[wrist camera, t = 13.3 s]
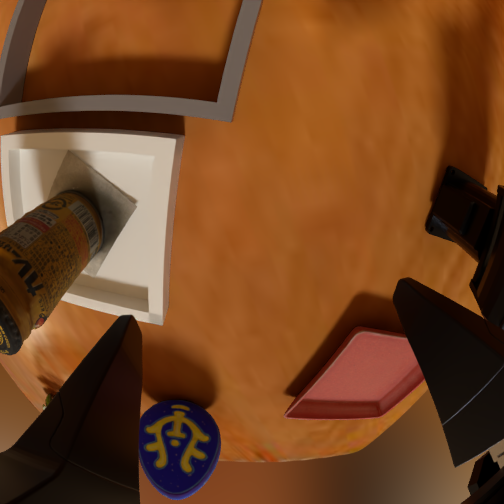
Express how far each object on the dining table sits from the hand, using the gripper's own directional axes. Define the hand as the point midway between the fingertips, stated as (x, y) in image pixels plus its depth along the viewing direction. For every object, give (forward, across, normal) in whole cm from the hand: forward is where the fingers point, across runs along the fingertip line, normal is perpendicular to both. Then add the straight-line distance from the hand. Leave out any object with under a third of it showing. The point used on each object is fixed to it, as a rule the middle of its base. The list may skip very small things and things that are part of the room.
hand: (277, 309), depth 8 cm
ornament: (+12, +10, +30) cm, 34 cm away
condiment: (+13, +13, +1) cm, 18 cm away
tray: (+14, +13, +2) cm, 19 cm away
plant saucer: (+10, -15, +24) cm, 30 cm away
